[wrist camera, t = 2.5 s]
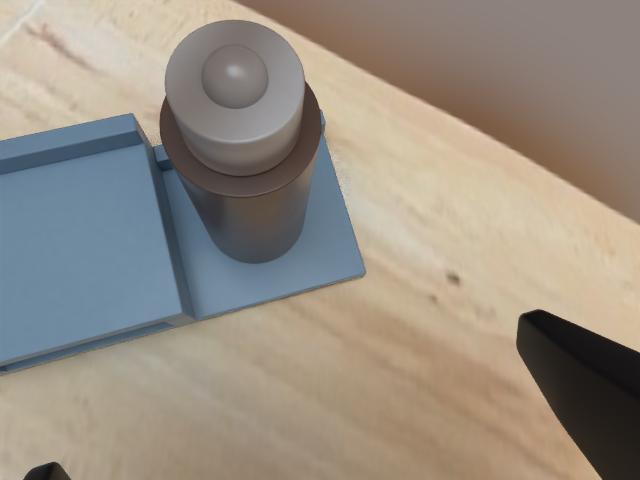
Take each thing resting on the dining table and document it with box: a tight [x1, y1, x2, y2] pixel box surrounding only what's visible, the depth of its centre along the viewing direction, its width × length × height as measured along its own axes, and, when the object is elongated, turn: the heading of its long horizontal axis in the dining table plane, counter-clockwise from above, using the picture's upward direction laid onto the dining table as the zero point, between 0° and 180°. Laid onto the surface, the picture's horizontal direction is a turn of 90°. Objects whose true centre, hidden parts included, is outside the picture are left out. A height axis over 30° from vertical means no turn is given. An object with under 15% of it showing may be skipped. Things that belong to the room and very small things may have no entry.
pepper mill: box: [159, 20, 322, 264], centre depth 18 cm, size 5×5×13 cm
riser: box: [0, 109, 366, 376], centre depth 21 cm, size 8×17×5 cm, turn 106°
